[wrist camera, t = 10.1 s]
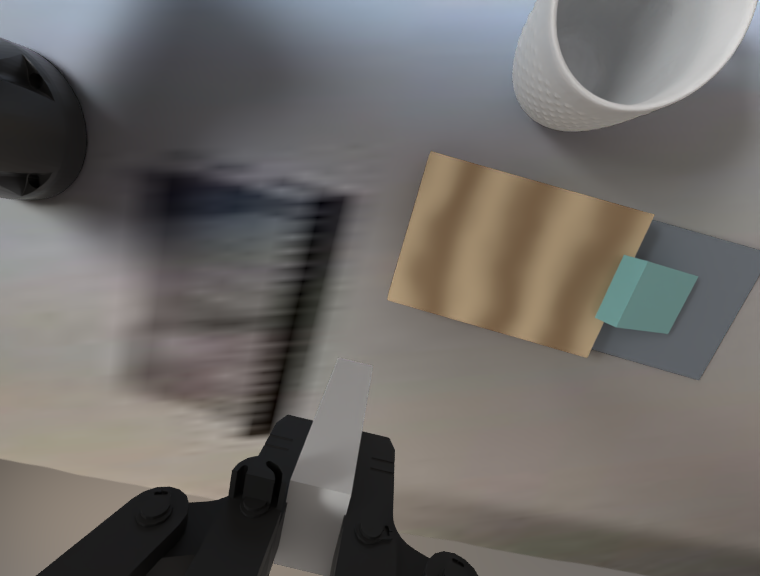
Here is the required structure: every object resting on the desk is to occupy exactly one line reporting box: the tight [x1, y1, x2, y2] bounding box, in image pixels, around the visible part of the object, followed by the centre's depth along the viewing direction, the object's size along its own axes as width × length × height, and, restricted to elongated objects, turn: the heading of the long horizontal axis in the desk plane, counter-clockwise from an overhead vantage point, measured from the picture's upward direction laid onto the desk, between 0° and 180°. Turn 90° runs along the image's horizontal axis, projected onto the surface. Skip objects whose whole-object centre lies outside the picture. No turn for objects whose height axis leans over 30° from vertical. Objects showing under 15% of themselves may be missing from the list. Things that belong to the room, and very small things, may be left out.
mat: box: [592, 220, 760, 380], centre depth 36 cm, size 14×14×1 cm
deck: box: [387, 151, 654, 358], centre depth 34 cm, size 20×14×4 cm
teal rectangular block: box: [595, 255, 698, 334], centre depth 33 cm, size 9×6×2 cm
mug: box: [512, 0, 758, 132], centre depth 25 cm, size 15×11×13 cm
